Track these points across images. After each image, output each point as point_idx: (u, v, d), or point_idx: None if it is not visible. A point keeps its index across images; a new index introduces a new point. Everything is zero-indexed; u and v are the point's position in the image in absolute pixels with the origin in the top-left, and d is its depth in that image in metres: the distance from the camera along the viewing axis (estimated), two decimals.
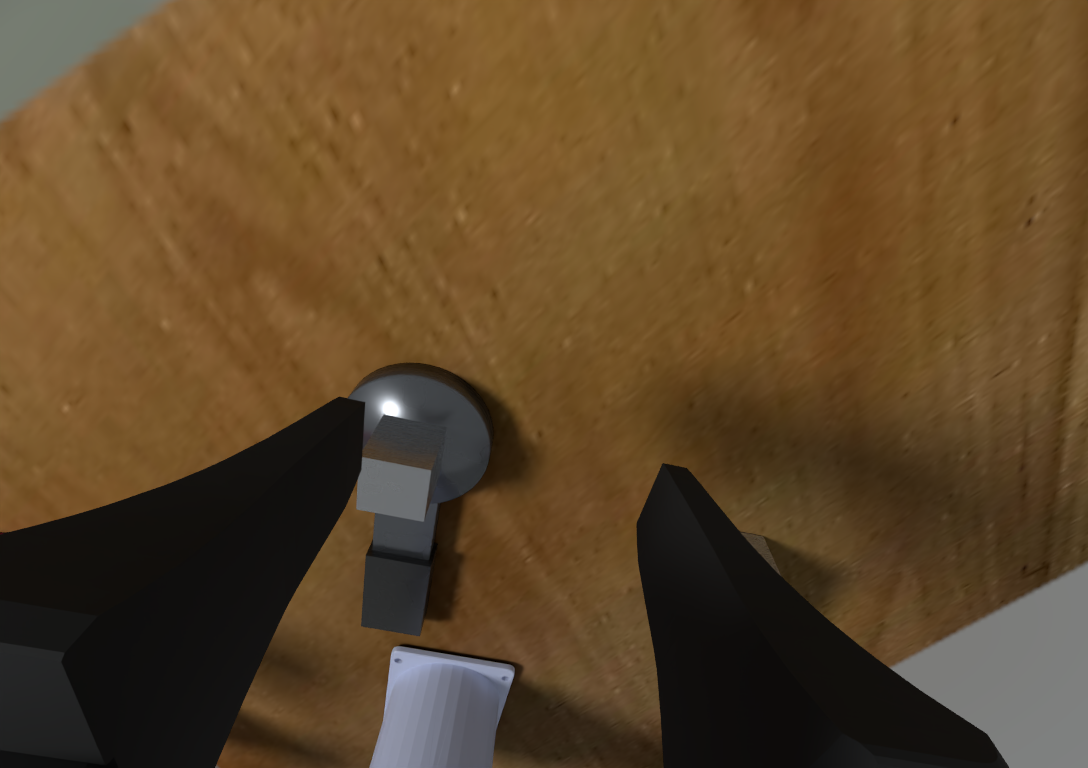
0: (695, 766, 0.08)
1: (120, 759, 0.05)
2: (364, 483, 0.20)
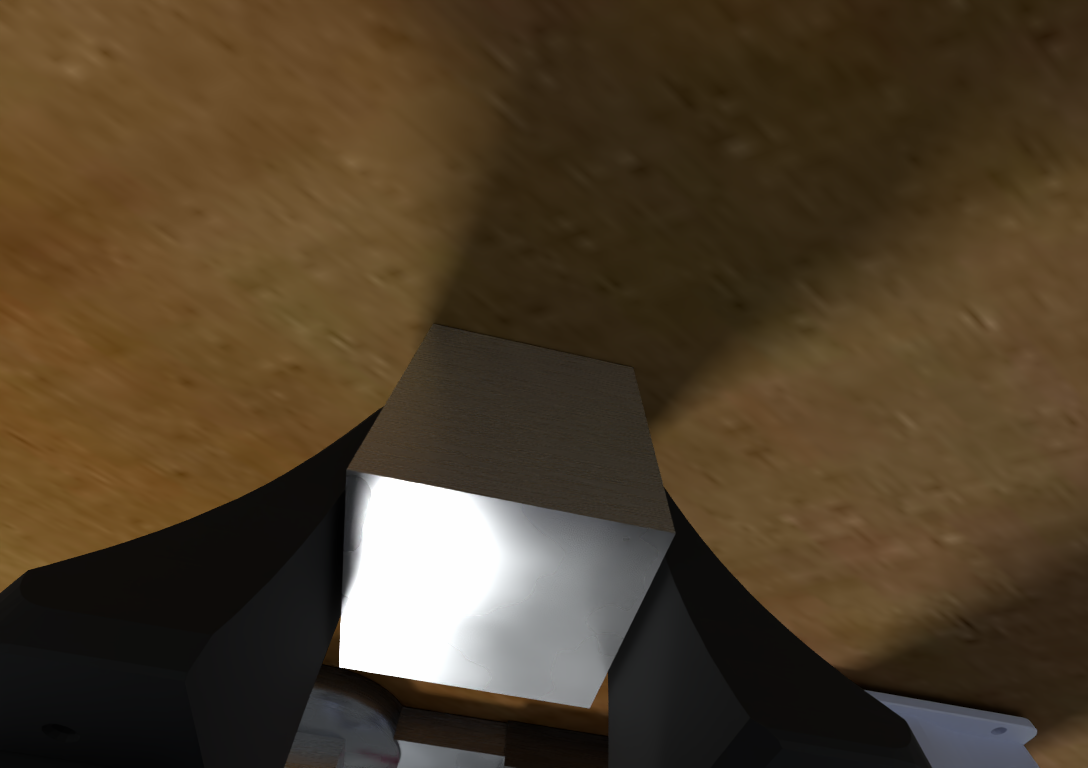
0: (633, 756, 0.08)
1: None
2: None
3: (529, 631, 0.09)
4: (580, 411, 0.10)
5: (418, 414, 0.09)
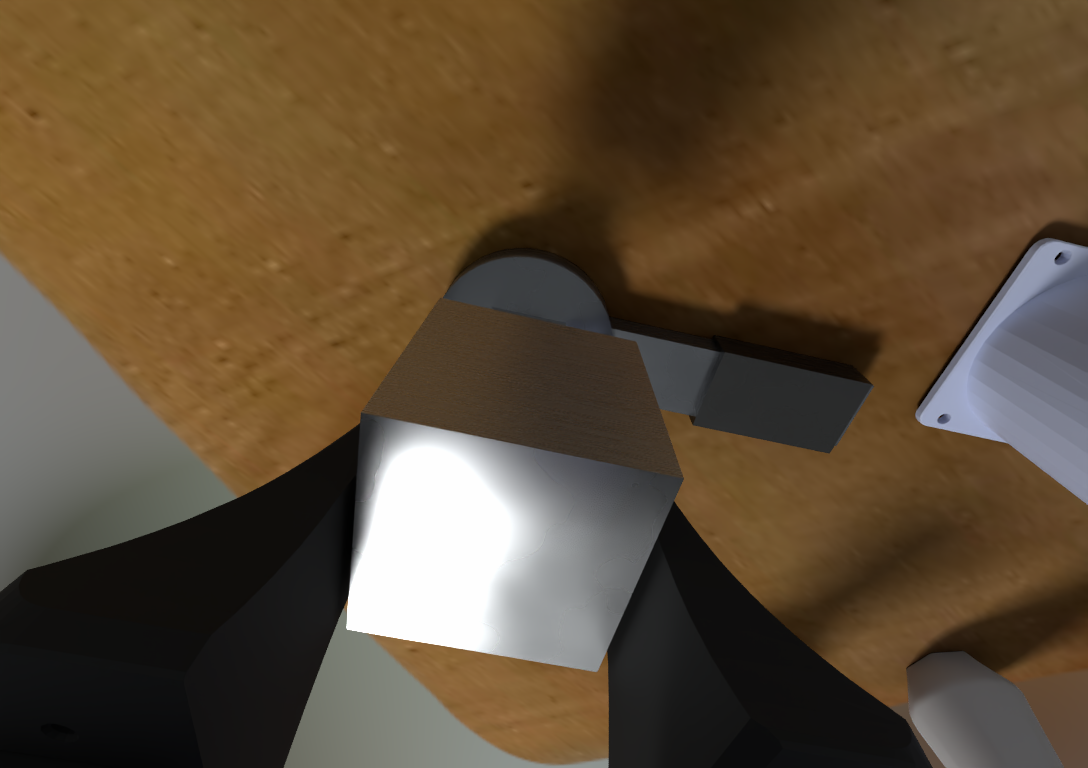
0: (633, 756, 0.08)
1: None
2: None
3: (538, 587, 0.09)
4: (587, 375, 0.10)
5: (429, 370, 0.09)
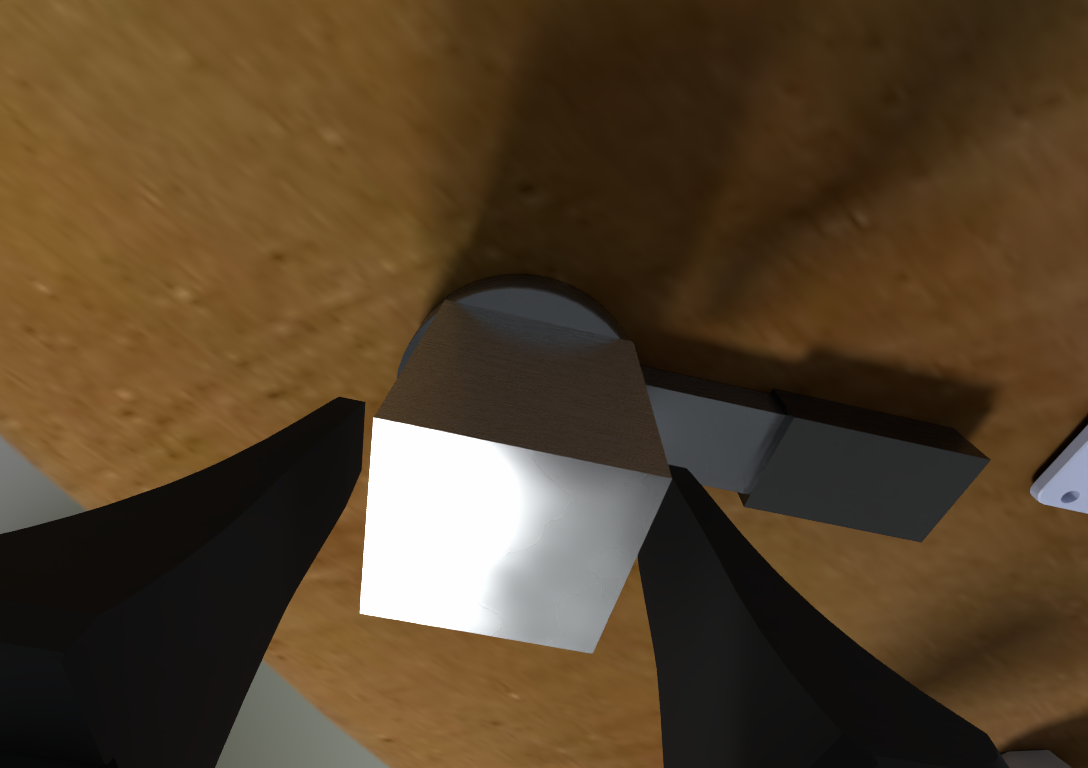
0: (695, 766, 0.08)
1: (120, 759, 0.05)
2: None
3: (537, 576, 0.10)
4: (584, 377, 0.11)
5: (435, 375, 0.10)
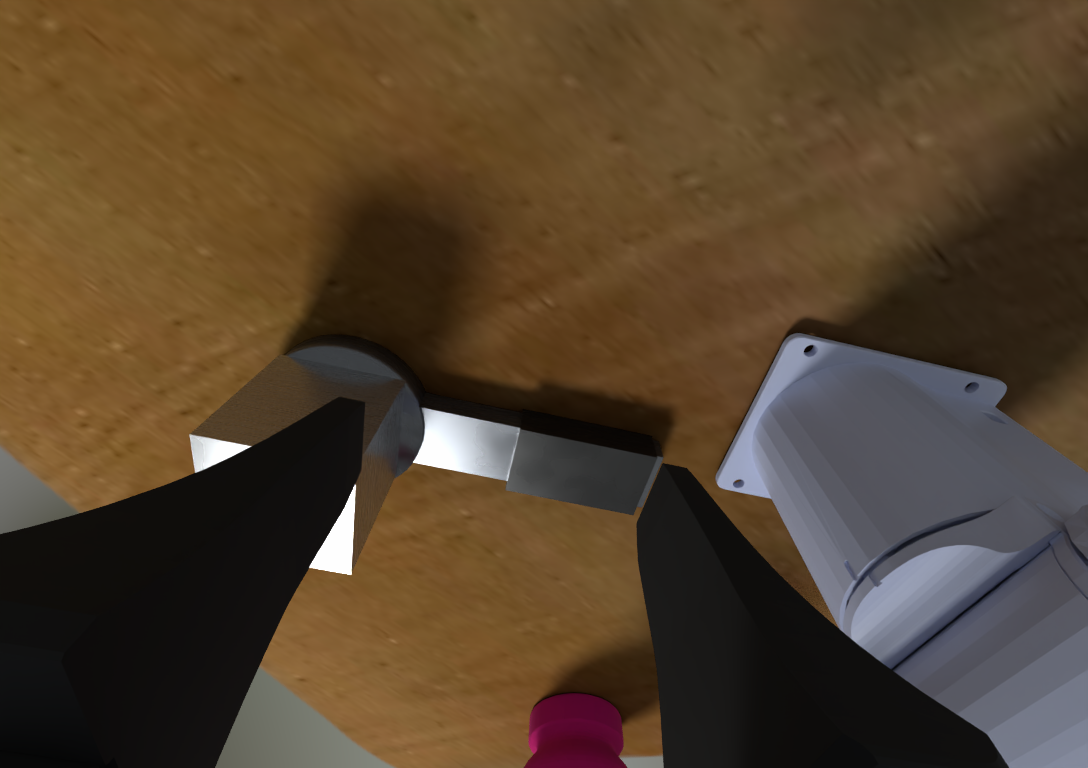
0: (695, 766, 0.08)
1: (120, 759, 0.05)
2: None
3: None
4: None
5: (242, 408, 0.17)
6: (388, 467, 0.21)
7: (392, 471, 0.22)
